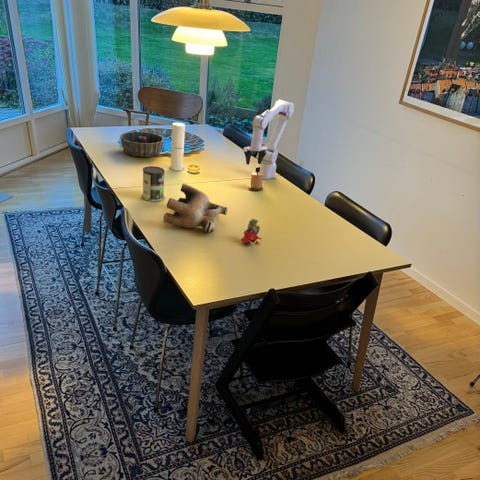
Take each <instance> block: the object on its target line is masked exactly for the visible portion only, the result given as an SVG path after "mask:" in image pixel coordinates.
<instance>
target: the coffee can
mask: <svg viewBox="0 0 480 480" xmlns="http://www.w3.org/2000/svg"><path fill="white" fill-rule="evenodd" d="M165 173H166V172H165V169H164V168H163V167H159V166H157V165H156V166H154V165H150V166H144V167H143V168H142V198H143V199H144V200H146V201H149V202H160V201H162V200H164V194H165V193H164V191H165V189H164V188H165Z"/></svg>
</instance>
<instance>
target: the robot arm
mask: <svg viewBox="0 0 480 480" xmlns="http://www.w3.org/2000/svg"><path fill="white" fill-rule="evenodd" d="M294 112H295V104H294V103H293V102H290V101H286V100H283V99H277V100H276V101H275V104H274V106H273V107H272V108H271V109H266V110H265V111H264V112H263V113H261V114H260V115H256V116H254V117H253V119H252V121H251V125H252V130H253V131H252V137H251V142H250V143H251V144H250V146H244V147H243V153H244V157H245V163H246V165H248V166H249V165H250V162H251V158H252V154H253V153H252V152H258V153H257V155H258V156H257V164H258V165H259V167H260V172H258V173H262V174H263V180H267V179H268V180H269V179H276V173H277V163H276V162H277V159H278V155H279V151H278V149H277V146H278V144H279V142H280V139H281V137H282V136H283V135H282V134H283V133H284V130H285V128H286V126H287V124H288V121H289V120H291V118H292V116H293V114H294ZM274 116H277V118H278V121H277V122H276V125H275V127H274V129H273V132H272V134H271V135H270V138H269V141H268V143H267V144H265V145H262V143H263V137H264V132H265V129H266V128H267V126H268V124H269V123H270V122H272V120H274Z"/></svg>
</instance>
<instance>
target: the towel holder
mask: <svg viewBox="0 0 480 480" xmlns="http://www.w3.org/2000/svg"><path fill="white" fill-rule="evenodd" d="M259 172H260V166H255V172H251V174H250V186H249V188H248V189H249V190H252V191H262V190H264V187H263V183H264V179H263V174H262V173H259Z"/></svg>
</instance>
